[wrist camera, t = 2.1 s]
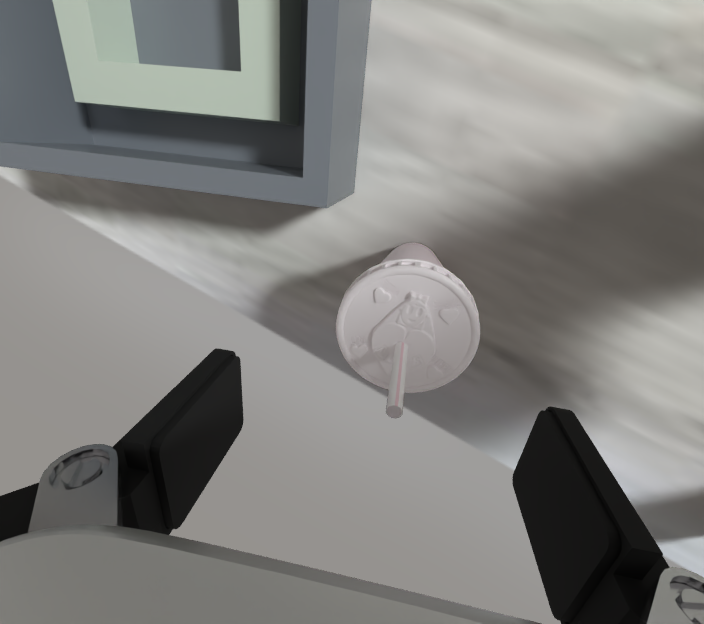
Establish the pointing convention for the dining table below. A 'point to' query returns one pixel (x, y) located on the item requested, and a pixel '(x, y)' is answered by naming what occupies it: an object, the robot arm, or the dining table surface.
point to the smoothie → (408, 324)
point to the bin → (187, 93)
